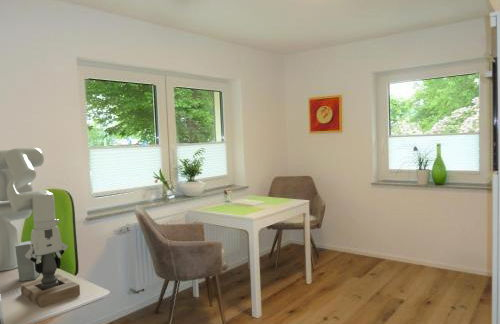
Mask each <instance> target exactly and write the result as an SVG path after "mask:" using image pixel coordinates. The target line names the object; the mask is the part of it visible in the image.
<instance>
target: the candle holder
mask: <svg viewBox="0 0 500 324" xmlns="http://www.w3.org/2000/svg"><path fill="white" fill-rule="evenodd" d="M44 232H45V238H48V239H50V237H52V236H53V235H52V229H49V230H44ZM48 239H47V240H48ZM46 246H47V247H49V246H52V244H48V245H46ZM40 263H41V268H42V273H41V275H42V277H41V278H42V280H41V282H42V283H41V290H42V291H43V290H46V289H49V288H53V287H56V286H59V284H58V281H57V277H56V276H55V274H56V271H57V269H58V268H57V264H56V261H55V254H54V253H49V254H46V255H42V256H41V259H40Z"/></svg>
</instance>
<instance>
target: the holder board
mask: <svg viewBox="0 0 500 324" xmlns="http://www.w3.org/2000/svg"><path fill="white" fill-rule="evenodd" d="M54 275H55V276H56V277H57V281H58V284H59V286H56V287H53V288H49V289H46V290H43V291H42V290H41V283H42V282H41V280H42V278H43V277H41V278H38V279H35V280H30V281H27V282H25V283H20V293H21V295H22V296H23V297H25V298H26V299H28V300H29V301H30V302H32V303H34V304H35V305H37V306H38V307H40V308H44V307H47V306H50V305H55V304H57V303H60V302H63V301H65V300H68V299H71V298H75V297H78V296H80V295H81V290H80V284H79V283H77V282H75V281H73V280H71V279H70V278H67V277H65V276H62V275H60V273H57V274H56V273H55V274H54Z"/></svg>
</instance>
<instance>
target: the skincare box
mask: <svg viewBox="0 0 500 324" xmlns="http://www.w3.org/2000/svg"><path fill="white" fill-rule="evenodd" d="M30 248H31V240H27V241H21V242H20V243H19V242H18V245H16V246H15V249H16V257H17V265H18V268H17V271H18V278H19V279H18V280H19V282H24V281H34V280H37V278H38V277H39V276H40V275H41V273H40V274H39V273H37V272H36V270H35V263H34V262H33V261H31V260H30V259H28V258H26V257H25V255H26V253H27V252H28V251H29V250H30ZM31 256H32V257H33V258H34V257H35V254H31Z"/></svg>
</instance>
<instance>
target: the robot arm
mask: <svg viewBox="0 0 500 324" xmlns="http://www.w3.org/2000/svg"><path fill="white" fill-rule="evenodd" d="M44 161H45V157H44V154H43V151H42V150H41V149H40V148H38V147H19V148H17V147H16V148H12V149H4V150H1V149H0V272H5V271H10V270H14V269H18V265H17V257H16V249H15V246H16V245H18V244H19V239H18V238H19V237H18V230H17V228H16V226H15V225H13V224H12V223H11V222H13V221H18V220H22V219H23V220H24V219H28V218H30V216H33V218H32V219H33V229H31V233H30V241H31V248H30V250H29V251H28V252H27V253H26V255H25V257H26V258H28V259H30V260H31V261H33V262H34V263H35V270H36V272H37V273H39V274H40V275H41V274H42V268H41V257H42V255H46V254H49V253H53V255H54V258H55V261H56V264H57V269H61V265H62V264H61V263H62V261H61V258H62V256H63V254H65V251H66V250H67V249H68V248H69V246H68V245H67V244H66V243H64V242H63V241H62V237H61V232H60V228H59V226H58V223H60V219H59V218H58V219H57V218H56V206H55V205H56V203H55V195H54V193H52V192H50V191H49V190H47V189H40V190H38V189H37V190H33V184H32V182H33V181H34V180H35V179H36V178H37V177H36V176H37V172H36V169H35V168H38V167H41V166H42V165H43V164H44ZM49 229H52V235H53V236H52V237H50V239H48V238H45V232H44V230H49ZM47 239H48V240H47ZM48 244H52V246H49V247H47V246H46V245H48ZM31 254H35V257H34V258H33V257H32V256H31Z"/></svg>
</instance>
